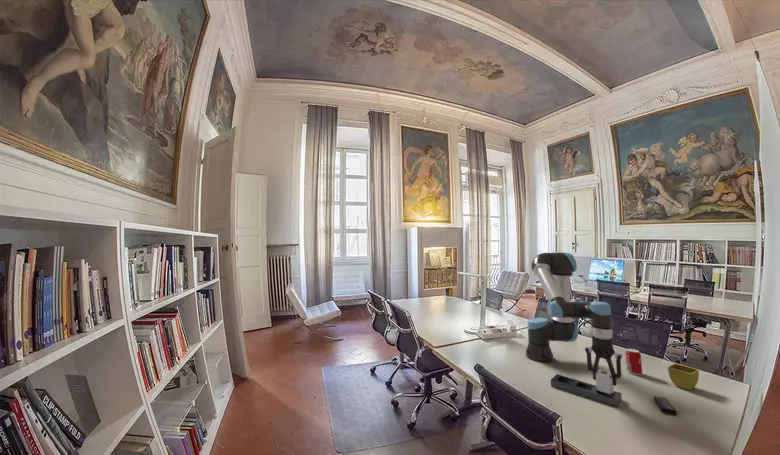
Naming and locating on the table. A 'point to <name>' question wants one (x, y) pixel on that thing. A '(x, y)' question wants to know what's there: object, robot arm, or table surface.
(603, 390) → the block
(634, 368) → the beverage can
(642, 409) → the table surface
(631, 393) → the table surface
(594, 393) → the rack rail
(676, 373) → the flower pot
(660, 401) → the multiport hub
